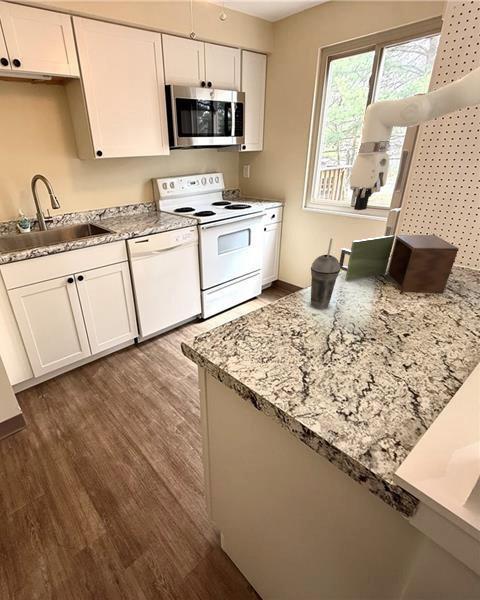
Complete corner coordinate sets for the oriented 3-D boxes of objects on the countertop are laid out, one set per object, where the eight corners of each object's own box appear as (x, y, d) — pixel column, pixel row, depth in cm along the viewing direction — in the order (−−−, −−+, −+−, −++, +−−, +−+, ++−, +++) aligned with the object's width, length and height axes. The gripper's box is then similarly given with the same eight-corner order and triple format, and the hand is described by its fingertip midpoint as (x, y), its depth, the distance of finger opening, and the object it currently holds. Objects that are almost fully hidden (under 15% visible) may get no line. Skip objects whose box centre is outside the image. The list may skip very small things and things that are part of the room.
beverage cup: (301, 307, 92) (310, 241, 83) (311, 298, 96) (320, 235, 88) (327, 314, 87) (340, 244, 78) (337, 304, 91) (350, 237, 82)
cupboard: (401, 291, 94) (414, 248, 89) (386, 274, 107) (396, 235, 101) (443, 293, 91) (458, 248, 85) (422, 275, 103) (434, 234, 98)
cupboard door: (334, 275, 110) (340, 237, 104) (371, 269, 112) (379, 232, 106) (346, 280, 105) (354, 241, 99) (385, 274, 107) (395, 235, 101)
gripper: (406, 146, 89) (389, 211, 97) (364, 148, 102) (352, 205, 110) (383, 149, 88) (368, 214, 96) (343, 150, 101) (333, 207, 109)
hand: (360, 209), depth 103 cm, fingers closed
